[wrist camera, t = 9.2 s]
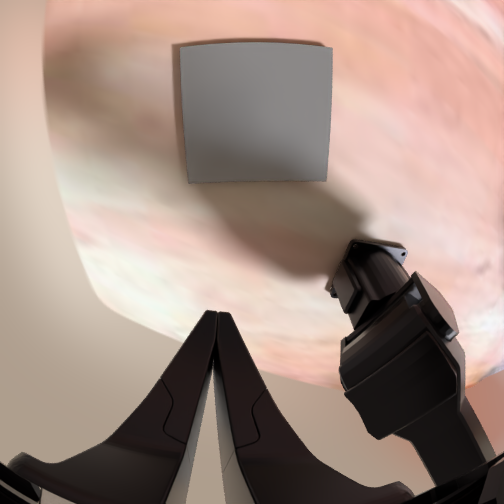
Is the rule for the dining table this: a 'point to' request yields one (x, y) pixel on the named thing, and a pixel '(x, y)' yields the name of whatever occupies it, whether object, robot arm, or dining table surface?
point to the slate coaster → (256, 111)
